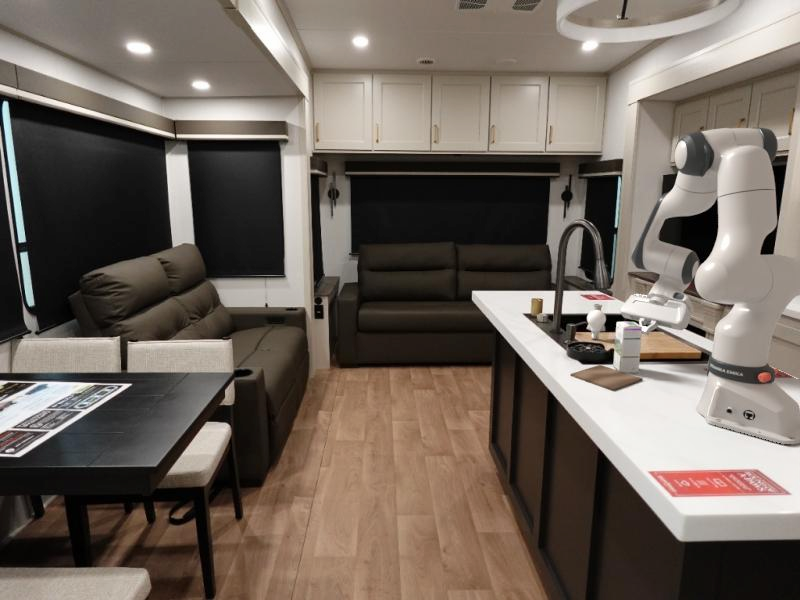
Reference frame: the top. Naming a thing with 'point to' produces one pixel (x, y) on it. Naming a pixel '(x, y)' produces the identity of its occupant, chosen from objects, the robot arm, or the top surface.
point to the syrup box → (627, 347)
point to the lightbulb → (596, 322)
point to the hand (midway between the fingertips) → (642, 333)
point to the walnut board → (606, 377)
